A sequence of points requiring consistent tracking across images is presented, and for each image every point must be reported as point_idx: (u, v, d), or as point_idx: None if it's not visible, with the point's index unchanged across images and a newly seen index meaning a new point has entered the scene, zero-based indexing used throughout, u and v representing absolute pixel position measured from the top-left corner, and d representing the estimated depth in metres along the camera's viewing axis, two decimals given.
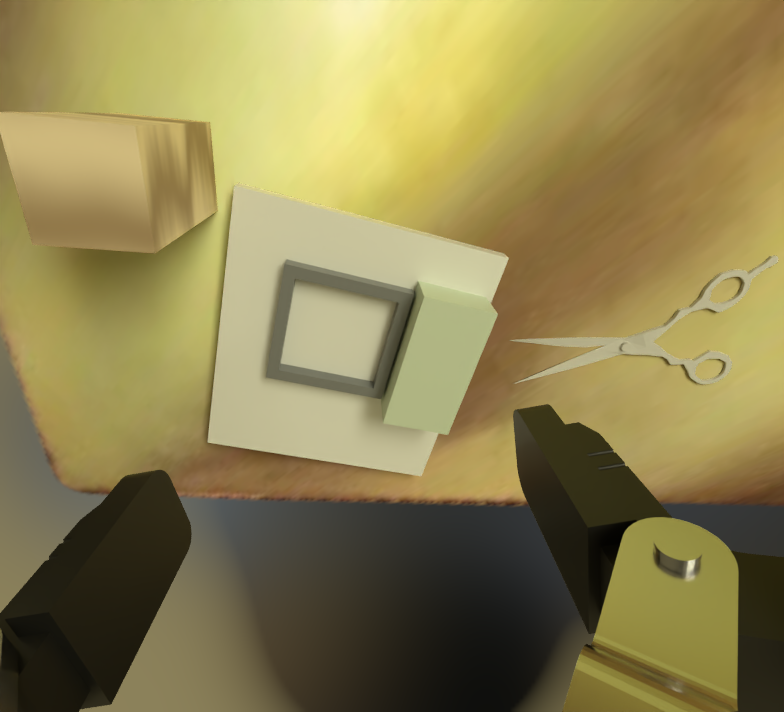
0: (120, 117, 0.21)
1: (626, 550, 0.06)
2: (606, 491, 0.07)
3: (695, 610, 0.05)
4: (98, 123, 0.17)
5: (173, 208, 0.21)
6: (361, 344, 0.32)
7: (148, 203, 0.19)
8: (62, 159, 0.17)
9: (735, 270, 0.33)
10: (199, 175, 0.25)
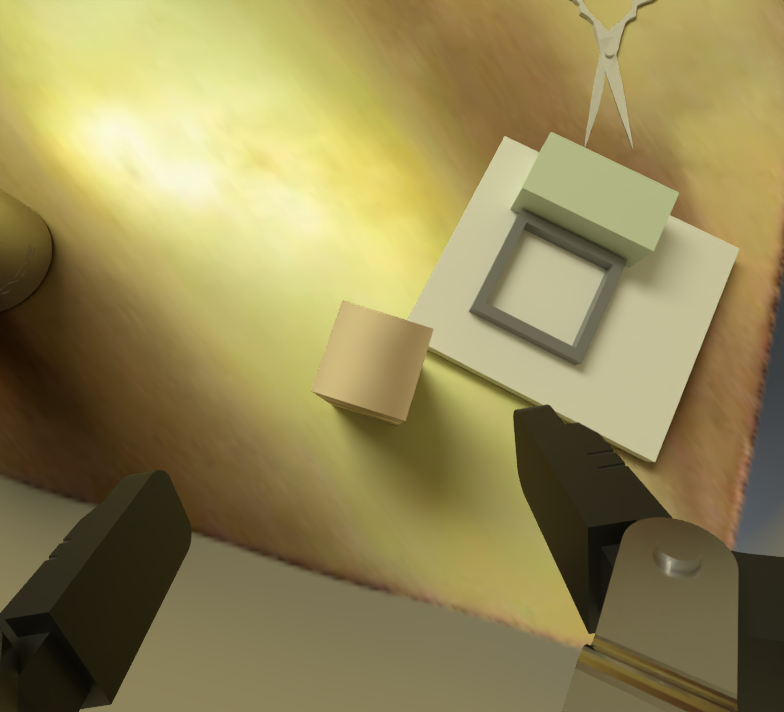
0: None
1: (626, 550, 0.06)
2: (606, 491, 0.07)
3: (695, 610, 0.05)
4: (335, 324, 0.23)
5: None
6: (562, 270, 0.33)
7: (395, 317, 0.23)
8: (351, 362, 0.23)
9: None
10: None
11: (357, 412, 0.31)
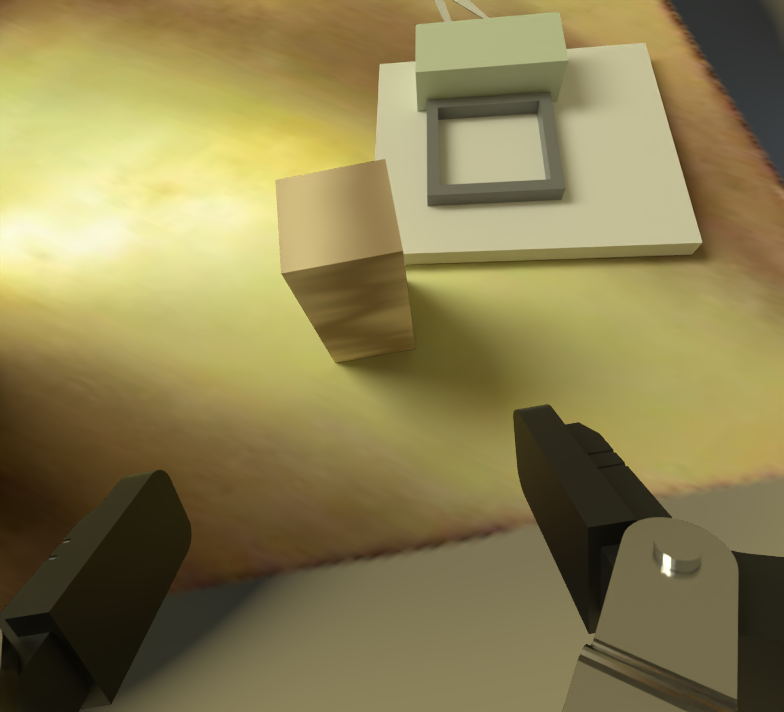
0: None
1: (626, 550, 0.06)
2: (606, 491, 0.07)
3: (695, 610, 0.05)
4: (278, 203, 0.19)
5: None
6: (497, 132, 0.31)
7: (339, 170, 0.20)
8: (312, 227, 0.19)
9: None
10: None
11: (365, 352, 0.26)
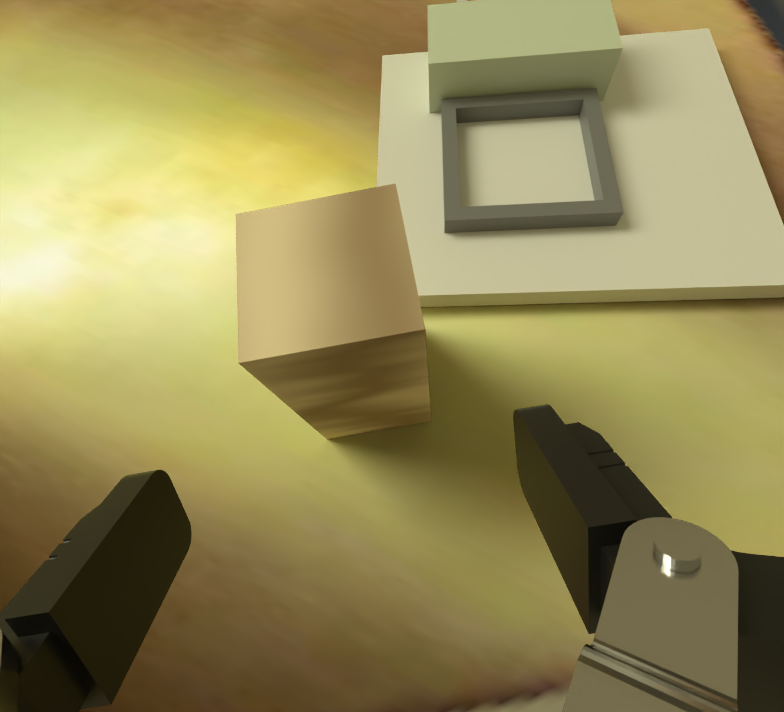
0: None
1: (626, 550, 0.06)
2: (606, 491, 0.07)
3: (695, 610, 0.05)
4: (238, 250, 0.13)
5: None
6: (529, 139, 0.25)
7: (329, 200, 0.14)
8: (288, 287, 0.12)
9: None
10: None
11: (366, 428, 0.20)
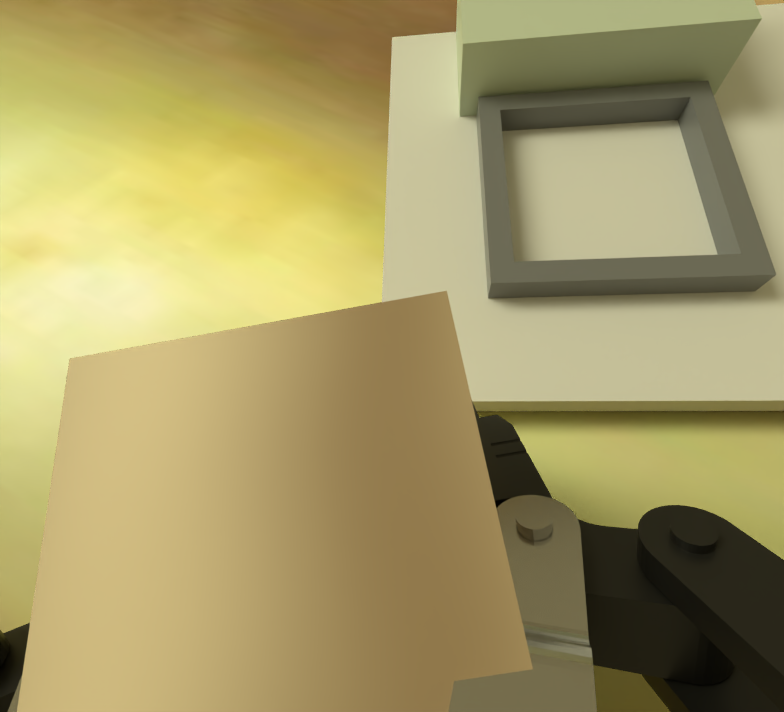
0: None
1: None
2: (495, 474, 0.07)
3: (552, 569, 0.06)
4: (58, 461, 0.05)
5: None
6: (607, 155, 0.17)
7: (288, 324, 0.06)
8: (167, 595, 0.05)
9: None
10: None
11: None
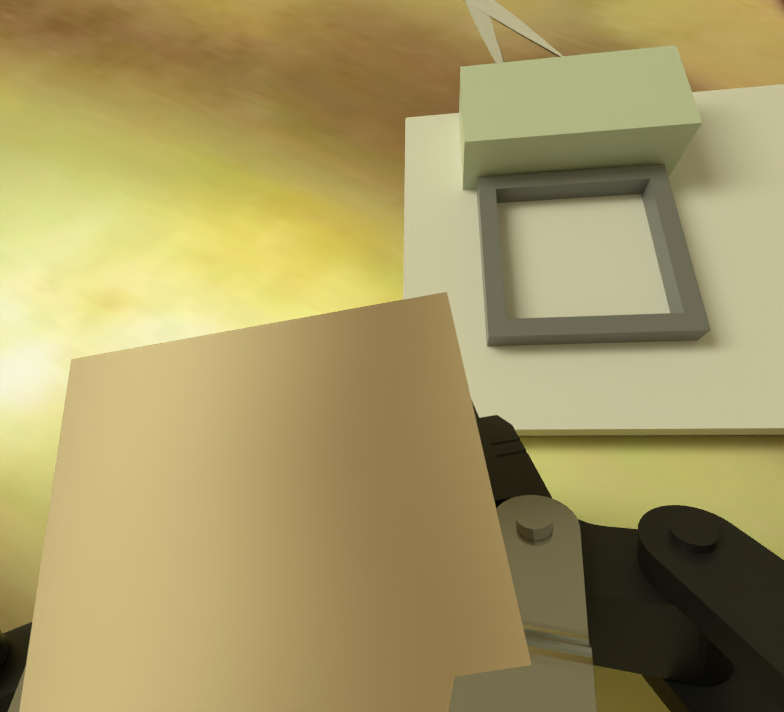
0: None
1: None
2: (495, 474, 0.07)
3: (552, 569, 0.06)
4: (60, 461, 0.05)
5: None
6: (583, 224, 0.21)
7: (290, 326, 0.06)
8: (168, 595, 0.05)
9: None
10: None
11: None
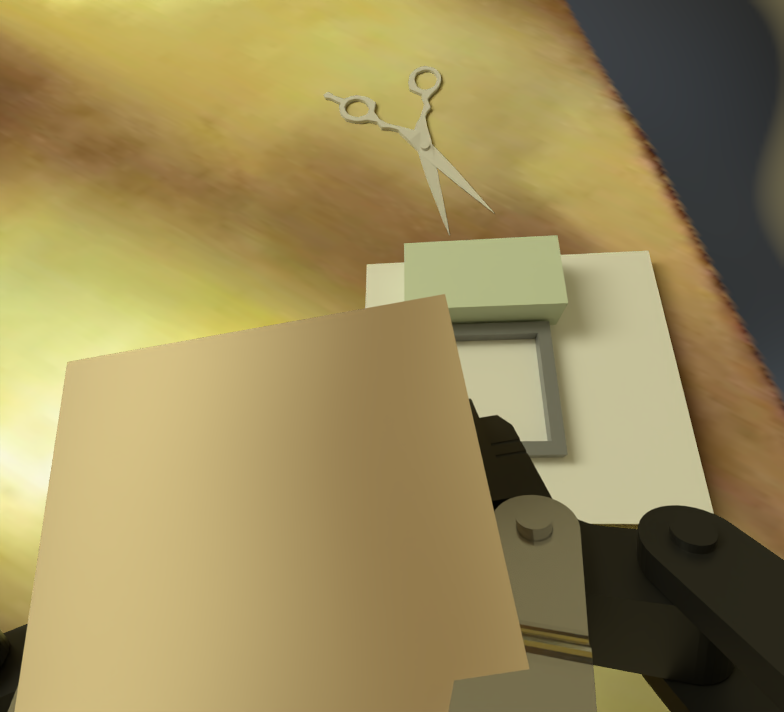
0: None
1: None
2: (495, 474, 0.07)
3: (551, 569, 0.06)
4: (56, 465, 0.05)
5: None
6: (492, 362, 0.29)
7: (287, 328, 0.06)
8: (164, 601, 0.05)
9: (340, 112, 0.41)
10: None
11: None
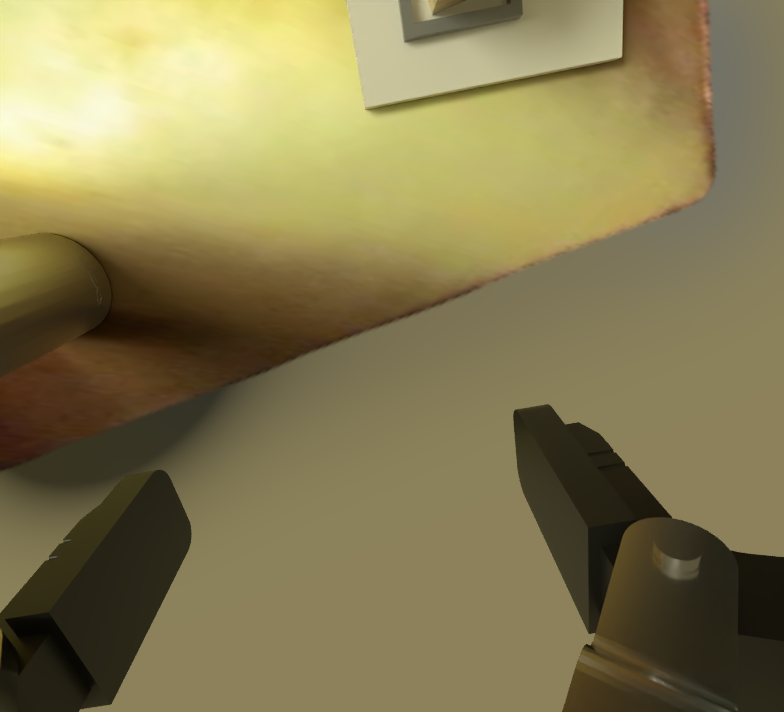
0: None
1: (626, 550, 0.06)
2: (606, 491, 0.07)
3: (695, 610, 0.05)
4: None
5: None
6: None
7: None
8: None
9: None
10: None
11: None
